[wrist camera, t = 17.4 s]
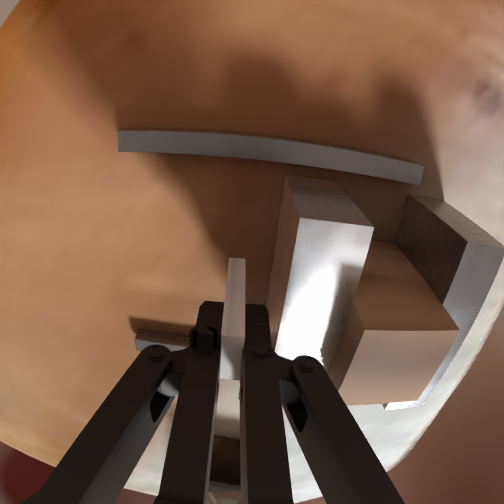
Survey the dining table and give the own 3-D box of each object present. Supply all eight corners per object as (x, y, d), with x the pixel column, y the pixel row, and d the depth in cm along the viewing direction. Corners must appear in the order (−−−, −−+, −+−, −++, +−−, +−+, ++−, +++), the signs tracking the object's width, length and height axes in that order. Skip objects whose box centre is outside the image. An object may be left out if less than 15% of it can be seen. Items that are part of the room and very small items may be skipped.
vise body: (140, 340, 24) (114, 407, 18) (126, 128, 17) (62, 149, 10) (385, 358, 25) (408, 423, 18) (452, 171, 17) (519, 209, 11)
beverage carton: (190, 483, 39) (186, 518, 33) (201, 429, 31) (194, 480, 25) (241, 490, 40) (239, 525, 34) (273, 438, 31) (273, 489, 25)
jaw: (261, 335, 23) (261, 411, 17) (285, 174, 18) (299, 218, 12) (300, 337, 23) (311, 412, 17) (335, 181, 18) (374, 227, 12)
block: (375, 304, 22) (417, 400, 14) (310, 300, 22) (331, 405, 14) (395, 243, 20) (460, 330, 12) (324, 234, 20) (364, 330, 12)
